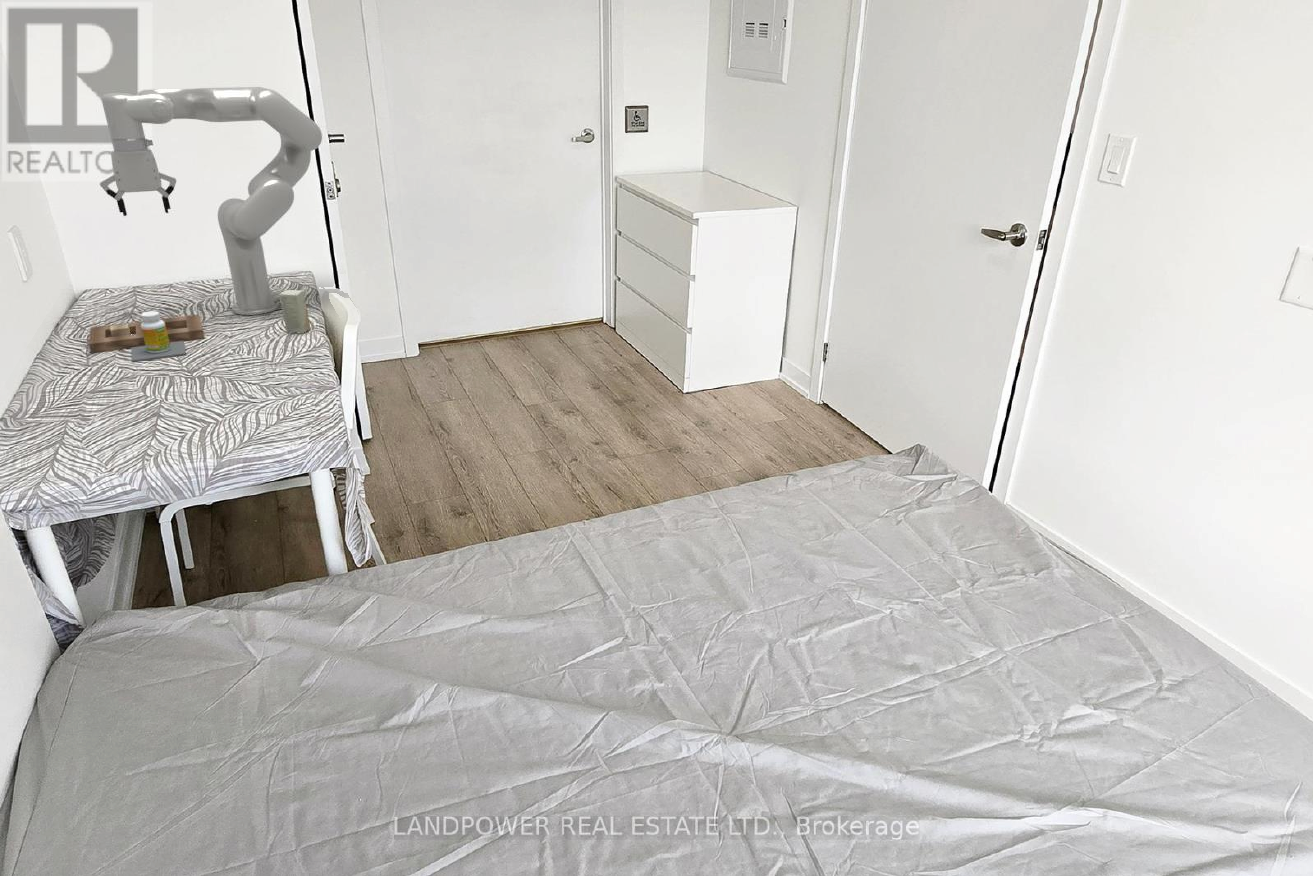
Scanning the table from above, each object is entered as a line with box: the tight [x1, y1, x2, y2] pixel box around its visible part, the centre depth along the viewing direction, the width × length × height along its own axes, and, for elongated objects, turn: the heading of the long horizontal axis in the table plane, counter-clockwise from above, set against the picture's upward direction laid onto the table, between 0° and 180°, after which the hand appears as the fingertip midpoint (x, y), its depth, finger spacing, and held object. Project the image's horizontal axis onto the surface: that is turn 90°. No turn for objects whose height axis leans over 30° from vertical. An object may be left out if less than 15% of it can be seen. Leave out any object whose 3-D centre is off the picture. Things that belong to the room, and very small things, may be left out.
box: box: [279, 289, 311, 334], centre depth 233 cm, size 5×4×11 cm
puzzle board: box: [88, 314, 206, 354], centre depth 227 cm, size 26×14×2 cm, turn 119°
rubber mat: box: [131, 341, 187, 363], centre depth 218 cm, size 12×10×1 cm
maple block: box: [110, 323, 131, 337], centre depth 224 cm, size 4×4×4 cm
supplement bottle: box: [140, 310, 171, 353], centre depth 216 cm, size 5×5×10 cm
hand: (146, 213), depth 224 cm, fingers open, 9 cm apart
